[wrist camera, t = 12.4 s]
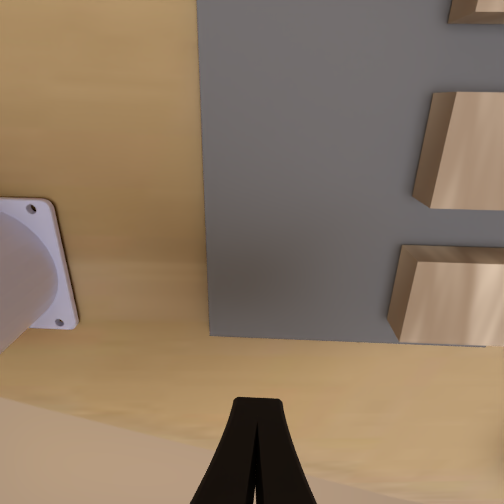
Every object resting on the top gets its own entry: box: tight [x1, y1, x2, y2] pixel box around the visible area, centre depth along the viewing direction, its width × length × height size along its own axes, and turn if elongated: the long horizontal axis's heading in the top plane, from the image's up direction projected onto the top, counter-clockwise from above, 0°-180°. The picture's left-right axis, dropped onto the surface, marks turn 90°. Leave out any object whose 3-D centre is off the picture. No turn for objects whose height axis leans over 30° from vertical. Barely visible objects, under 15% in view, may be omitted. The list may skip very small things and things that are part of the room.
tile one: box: [387, 245, 504, 346], centre depth 17 cm, size 2×4×6 cm
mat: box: [197, 0, 504, 347], centre depth 16 cm, size 16×22×1 cm
